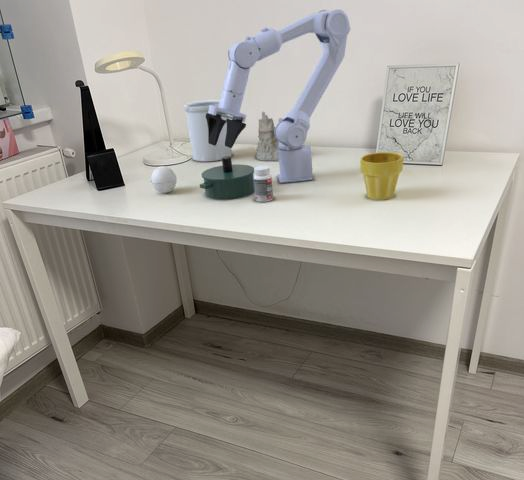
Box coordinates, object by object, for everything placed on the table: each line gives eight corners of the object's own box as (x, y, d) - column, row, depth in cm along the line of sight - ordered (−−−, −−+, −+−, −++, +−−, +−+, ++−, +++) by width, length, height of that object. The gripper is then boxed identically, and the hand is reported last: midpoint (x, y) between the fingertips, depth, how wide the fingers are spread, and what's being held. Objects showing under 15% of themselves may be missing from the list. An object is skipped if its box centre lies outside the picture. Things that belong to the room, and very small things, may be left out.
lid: (191, 178, 150) (188, 160, 148) (229, 165, 159) (227, 148, 156) (226, 186, 141) (224, 167, 139) (265, 172, 150) (264, 154, 147)
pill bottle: (271, 202, 142) (269, 169, 137) (253, 202, 143) (250, 170, 138) (274, 196, 146) (272, 164, 141) (257, 196, 147) (254, 165, 142)
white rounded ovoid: (163, 187, 162) (159, 162, 158) (183, 189, 158) (179, 163, 154) (142, 197, 155) (136, 171, 151) (162, 200, 151) (157, 173, 147)
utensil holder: (197, 152, 197) (189, 100, 187) (237, 150, 194) (231, 97, 185) (186, 163, 184) (178, 108, 175) (229, 161, 182) (223, 105, 173)
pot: (188, 197, 151) (185, 178, 148) (238, 179, 162) (236, 162, 159) (221, 205, 143) (219, 186, 140) (271, 186, 154) (269, 167, 151)
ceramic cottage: (292, 161, 175) (290, 110, 167) (248, 161, 181) (243, 113, 174) (310, 152, 187) (308, 105, 179) (267, 153, 193) (264, 107, 186)
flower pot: (376, 205, 133) (377, 164, 128) (351, 195, 141) (352, 157, 135) (409, 196, 136) (412, 156, 131) (383, 187, 144) (385, 149, 139)
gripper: (236, 93, 149) (224, 143, 154) (204, 83, 137) (192, 138, 142) (257, 100, 146) (243, 151, 152) (226, 90, 134) (213, 146, 140)
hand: (220, 145), depth 147 cm, fingers open, 7 cm apart
